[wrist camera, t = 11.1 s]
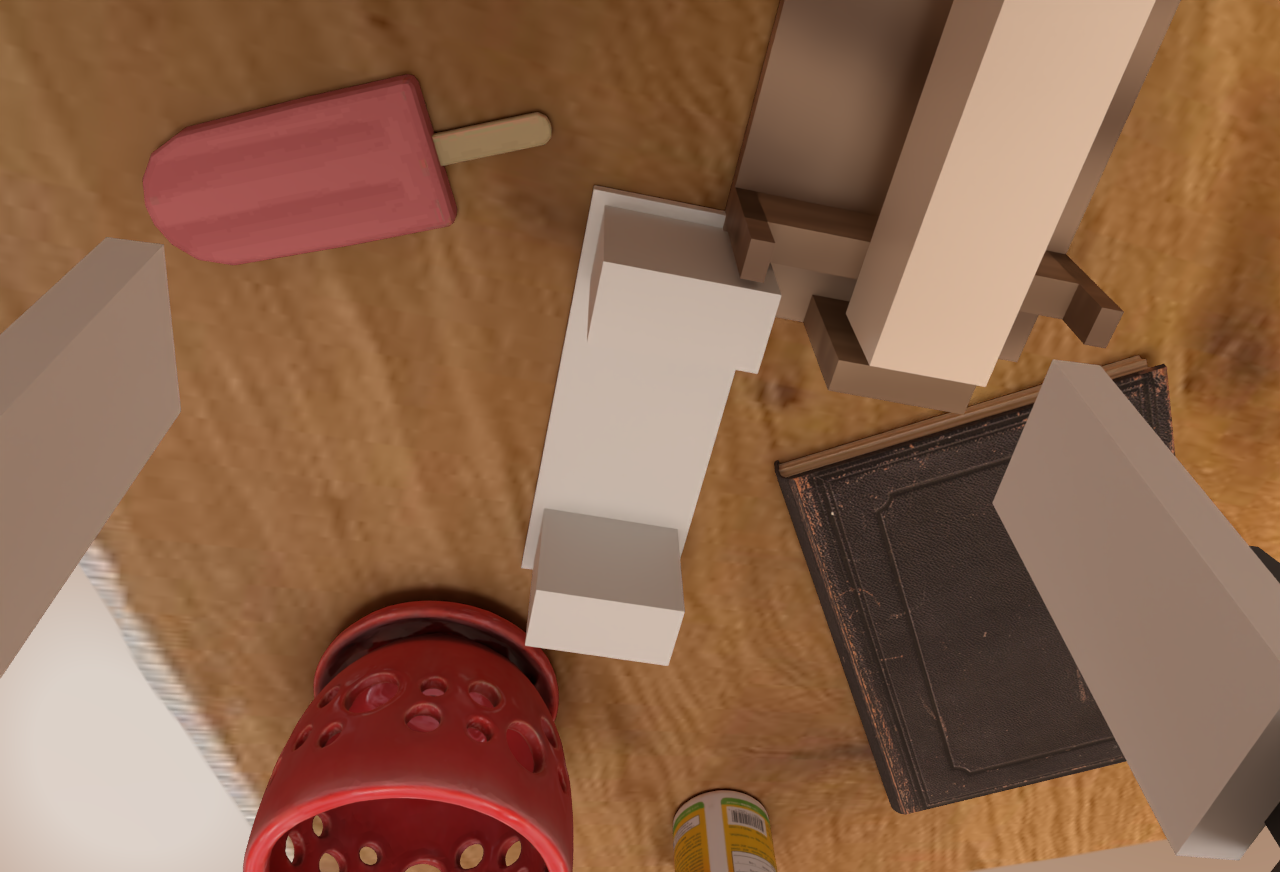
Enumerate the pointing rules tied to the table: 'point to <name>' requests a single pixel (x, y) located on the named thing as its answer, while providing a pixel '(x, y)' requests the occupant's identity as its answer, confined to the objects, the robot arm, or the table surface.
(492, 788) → the plant pot
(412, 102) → the popsicle
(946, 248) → the beige rectangular bar
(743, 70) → the table surface
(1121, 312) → the rack
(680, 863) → the supplement bottle
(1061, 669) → the hardcover book
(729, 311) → the stand
